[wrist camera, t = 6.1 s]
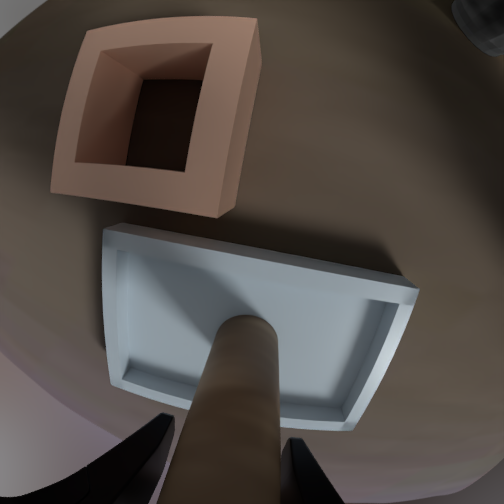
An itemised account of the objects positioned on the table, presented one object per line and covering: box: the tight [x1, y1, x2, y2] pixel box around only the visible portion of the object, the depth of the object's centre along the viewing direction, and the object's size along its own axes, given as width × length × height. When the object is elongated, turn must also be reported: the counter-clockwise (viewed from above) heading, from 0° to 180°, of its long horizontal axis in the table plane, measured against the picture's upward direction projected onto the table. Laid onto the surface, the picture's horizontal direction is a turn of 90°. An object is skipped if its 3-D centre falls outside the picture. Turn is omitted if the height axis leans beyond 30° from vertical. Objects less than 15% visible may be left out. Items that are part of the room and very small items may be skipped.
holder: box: [50, 16, 262, 218], centre depth 9 cm, size 7×7×4 cm
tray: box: [102, 223, 420, 431], centre depth 13 cm, size 14×9×2 cm, turn 80°
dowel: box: [157, 315, 281, 504], centre depth 8 cm, size 3×3×10 cm
